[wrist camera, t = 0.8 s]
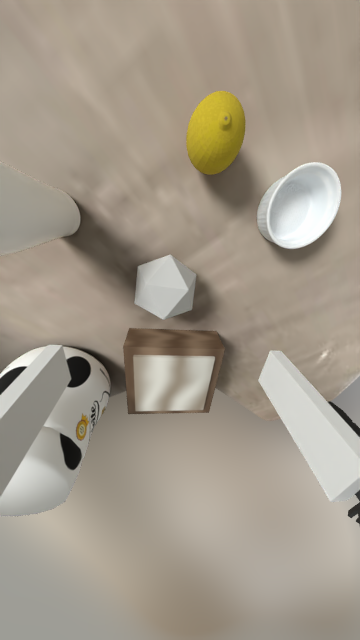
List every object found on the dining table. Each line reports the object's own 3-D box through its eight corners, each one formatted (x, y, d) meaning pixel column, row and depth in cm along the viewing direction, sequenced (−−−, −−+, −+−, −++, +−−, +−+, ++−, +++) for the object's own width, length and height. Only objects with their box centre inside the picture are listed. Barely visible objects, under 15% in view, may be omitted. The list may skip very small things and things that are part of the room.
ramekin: (255, 253, 28) (270, 258, 24) (248, 186, 24) (264, 179, 20) (313, 233, 27) (337, 235, 23) (316, 160, 23) (346, 148, 19)
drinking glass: (98, 229, 25) (23, 237, 11) (56, 249, 25) (-60, 279, 12) (65, 170, 21) (-93, 86, 8) (18, 195, 22) (-195, 156, 9)
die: (128, 261, 27) (117, 318, 23) (167, 227, 22) (160, 294, 18) (168, 285, 33) (164, 335, 29) (207, 263, 27) (209, 320, 23)
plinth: (132, 390, 40) (127, 416, 34) (129, 328, 32) (122, 348, 27) (203, 390, 41) (209, 414, 36) (216, 331, 34) (225, 351, 29)
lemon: (227, 115, 20) (262, 59, 13) (228, 177, 23) (257, 157, 16) (179, 124, 20) (188, 72, 13) (186, 184, 23) (196, 167, 16)
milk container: (124, 396, 40) (98, 508, 25) (45, 406, 40) (-31, 527, 24) (100, 331, 32) (39, 437, 16) (1, 343, 32) (-161, 464, 16)
